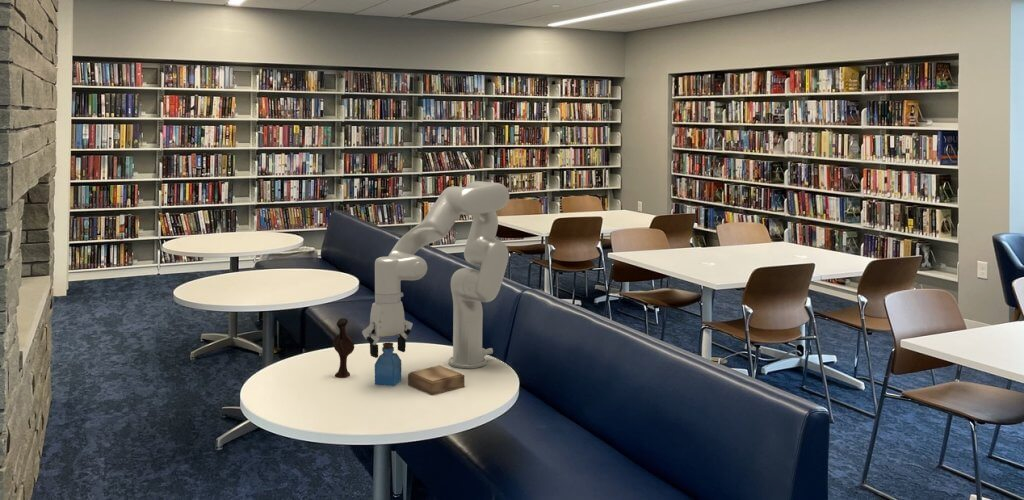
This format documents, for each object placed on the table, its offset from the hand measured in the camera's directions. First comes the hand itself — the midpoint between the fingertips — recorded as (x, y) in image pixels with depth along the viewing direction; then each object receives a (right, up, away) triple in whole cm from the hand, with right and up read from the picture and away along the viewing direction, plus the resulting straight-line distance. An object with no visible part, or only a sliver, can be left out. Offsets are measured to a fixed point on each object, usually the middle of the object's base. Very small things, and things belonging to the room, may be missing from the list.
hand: (388, 353), depth 237 cm
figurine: (-15, -8, +7) cm, 18 cm away
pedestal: (+15, -9, -1) cm, 17 cm away
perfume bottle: (0, -9, +1) cm, 9 cm away
